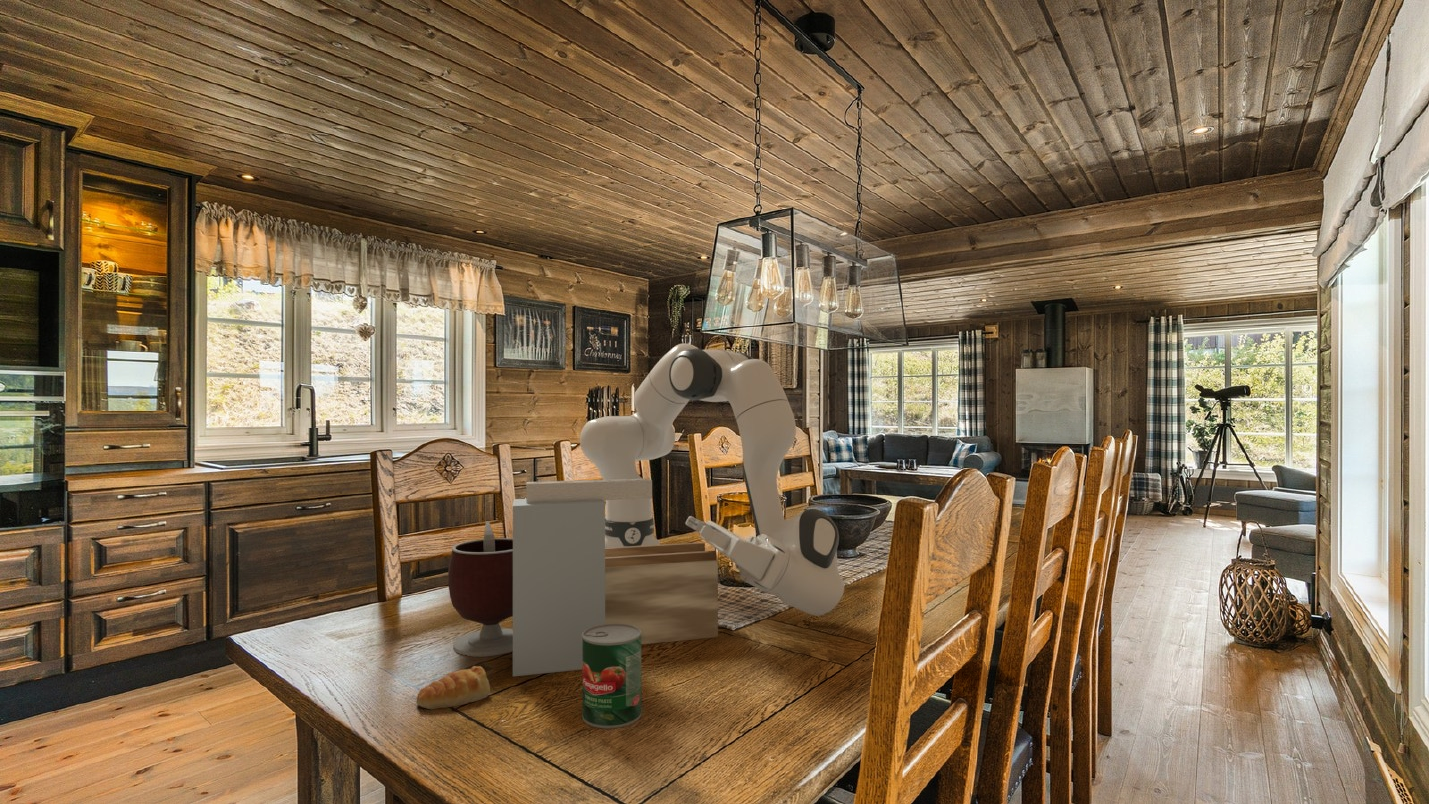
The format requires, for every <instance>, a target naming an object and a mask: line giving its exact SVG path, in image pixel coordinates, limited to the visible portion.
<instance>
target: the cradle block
mask: <svg viewBox="0 0 1429 804" xmlns="http://www.w3.org/2000/svg"><path fill="white" fill-rule="evenodd" d="M612 623H620V624H629V625H633V626H636V627H638V628H639V629H640V630H641V633H642V634H641V645H650V644H659V643H661V644H663V643H671V642H672V643H673V642H679V641H682V642H683V641H690V640H701V639H702V640H703V639H711V638H719V561H718V560H717V550H706V543H705V541H704V542H702V541H701V542H686V543H684V542H683V543H669V544H667V543H666V544H660V545H646V546H629V547H611V548H605V624H612Z"/></svg>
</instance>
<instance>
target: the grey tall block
mask: <svg viewBox="0 0 1429 804" xmlns="http://www.w3.org/2000/svg"><path fill="white" fill-rule="evenodd" d="M605 519H606V501H605V500H598V501H572V502H546V503H526V498H514V499H513V503H512V539H513V616H512V629H513V651H512V677H523V676H532V675H542V674H551V673H561V672H569V671H570V672H571V671H578V670H579V671H580V670H583V669H582V665H583V664H582V659H583V658H582V633H583V632H584V631H585V630H586V629H588V628H590V627H593V626H597V625H602V624H605Z"/></svg>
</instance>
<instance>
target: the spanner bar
mask: <svg viewBox="0 0 1429 804" xmlns="http://www.w3.org/2000/svg"><path fill="white" fill-rule="evenodd" d="M525 483H526V484H525V485H526V487H525V489H526V490H525V491H526V496H525V497H526V498H525V499H526V503H546V502H572V501H598V500H603V501H606V500H624V499H650V498H652V499H653V480H652V479H651V478H643V479H614V480H603V479H587V480H556V481H555V480H553V481H552V480H550V481H526V482H525Z"/></svg>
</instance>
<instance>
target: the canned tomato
mask: <svg viewBox="0 0 1429 804" xmlns="http://www.w3.org/2000/svg"><path fill="white" fill-rule="evenodd" d="M641 634H642V633H641V630H640V629H639V628H638V627H636V626H633V625H629V624H620V623H612V624H602V625H597V626H593V627H590V628H588V629H586V630H585V631H584V632H583V633H582V658H583V659H582V664H583V665H582V669H581V670H582V671H581V673H582V678H581V679H582V680H581V681H582V683H581V684H582V696H581V697H582V716H581V718H582V721H583V722H584V724H587V725H588V726H590V727H592V728H597V729H606V730H607V729H609V730H611V729H619V728H624V727H628V726H630V725H632V724H634V723H636V722H637V721H639V720H640V719H641V717H642V715H643V710H642V695H643V693H642V682H643V681H642V644H641Z"/></svg>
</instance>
